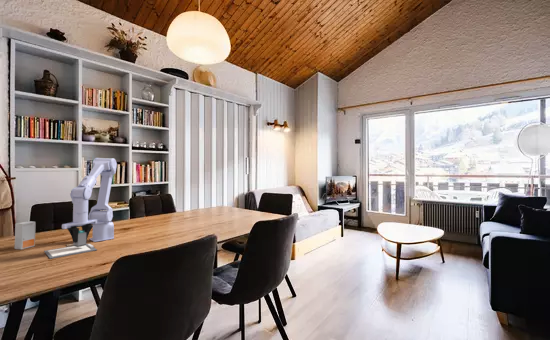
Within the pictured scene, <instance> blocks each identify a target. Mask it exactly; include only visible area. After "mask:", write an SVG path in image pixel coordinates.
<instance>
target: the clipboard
mask: <svg viewBox="0 0 550 340" xmlns="http://www.w3.org/2000/svg"><path fill="white" fill-rule="evenodd" d="M97 250H98V249H97V248H95V245H93V244H91V243H86V245H85V246H81V247H75V246H70V247H67V246H65V247H59V248H52V249H47V250H43V252H44V254H46V256H47V257H48V259H50V260H52V259H58V258H62V257H63V258H64V257H68V256H74V255H79V254H84V253H90V252H95V251H97Z"/></svg>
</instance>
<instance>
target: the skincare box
mask: <svg viewBox="0 0 550 340" xmlns="http://www.w3.org/2000/svg"><path fill="white" fill-rule="evenodd" d="M36 224H37V223H36V221H31V220H30V221H28V220H27V221H23V222H21V221H20V222H17V223H15V224H14V227H15V228H14V249H15V250H25V249H28V248H32V247H36V246H35V245H36V244H35V243H36Z"/></svg>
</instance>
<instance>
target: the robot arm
mask: <svg viewBox="0 0 550 340" xmlns="http://www.w3.org/2000/svg"><path fill="white" fill-rule="evenodd" d="M117 166H118V163H117V160H116V158H114V157H113V158H111V157H109V158H106V157H105V158H104V157H95V158H94V159H93V161H92V168H91V170H90V172H89V173H88V175H85V176H84V177H83V178H82V179H81V181H80V182H79V184H78V185H77V186H76V187H73V188H72V189H71V190H70V193H69V195H70V198H71V203H72V204H73V205H72V206H73V207H72V209H73V210H72V221H71V222H67V223H62V224H61V229H63V230H65V229H66V230H67V231H68V232H69V234H70V236H71V239H72V243H73V242H74V243H77V241H78V232H79V230H80V227H81V230H84V232H86V241H87V240H88V236H89V235H90V232H91V231H92V237H90V238H89V240H90V241H92V242H94V243H96V242H101V241H108V240H114V239H115V226H114V222H113V221H112V220H113V217H114V214H113V211H114V210H113V208H112V207H111V206H110V205H109V199H110V194H111V189H112V183H113V177H114V175H116V172H117ZM99 176H101V179H100V186H99V191H98V195H97V203H96V204H95V205H93V206H92V207H91V208H90V211H89V199H90V198H91V197H92V194H93V193H92V192H93V188H94V186H95V185H96V183H97V178H98V177H99ZM78 227H79V228H78Z"/></svg>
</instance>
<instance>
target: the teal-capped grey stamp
mask: <svg viewBox="0 0 550 340" xmlns="http://www.w3.org/2000/svg"><path fill="white" fill-rule="evenodd" d="M72 244H73V245H74V246H75V247H81V246H85V245H86V244H87V240H86V232H84V230H82V229H79V232H78V241H77V243H74V242H73V241H72Z"/></svg>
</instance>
